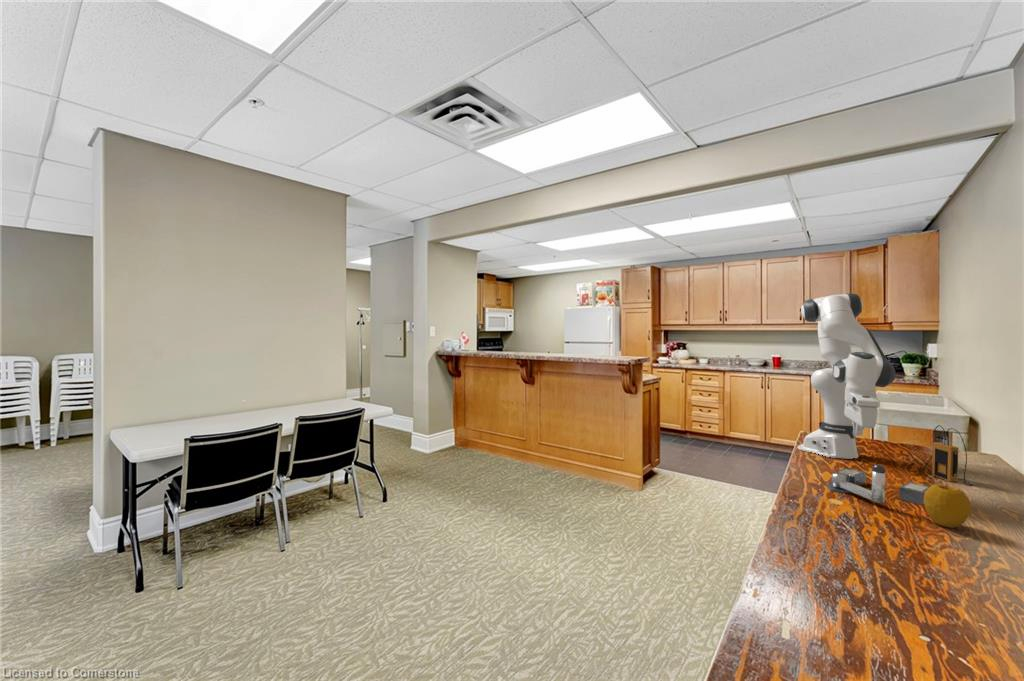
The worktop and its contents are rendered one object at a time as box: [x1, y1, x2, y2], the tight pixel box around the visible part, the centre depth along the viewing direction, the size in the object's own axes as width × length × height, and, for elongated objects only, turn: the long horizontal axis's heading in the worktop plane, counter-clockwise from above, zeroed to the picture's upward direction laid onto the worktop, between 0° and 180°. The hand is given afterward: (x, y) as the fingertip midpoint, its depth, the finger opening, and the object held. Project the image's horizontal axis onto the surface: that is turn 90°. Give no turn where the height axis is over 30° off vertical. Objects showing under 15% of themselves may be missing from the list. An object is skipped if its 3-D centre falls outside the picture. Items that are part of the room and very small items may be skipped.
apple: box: [923, 483, 973, 529], centre depth 124 cm, size 10×10×12 cm
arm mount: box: [825, 482, 853, 495], centre depth 151 cm, size 6×6×1 cm
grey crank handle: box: [831, 464, 887, 504], centre depth 144 cm, size 18×4×12 cm, turn 8°
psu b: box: [834, 467, 867, 487], centre depth 157 cm, size 6×10×4 cm, turn 123°
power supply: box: [898, 481, 932, 506], centre depth 143 cm, size 6×10×4 cm, turn 123°
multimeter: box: [923, 424, 975, 487], centre depth 162 cm, size 15×10×20 cm
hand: (857, 434), depth 158 cm, fingers closed
